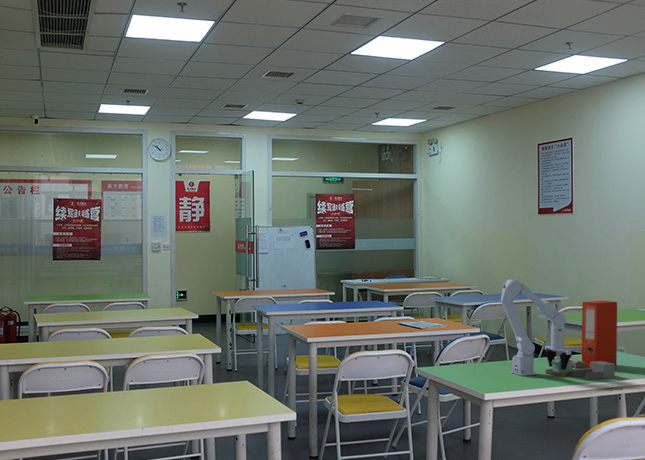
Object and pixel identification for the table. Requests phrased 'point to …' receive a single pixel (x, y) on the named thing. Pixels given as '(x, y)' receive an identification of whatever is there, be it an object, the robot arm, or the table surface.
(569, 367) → the tall teal block
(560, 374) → the tray
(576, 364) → the packaged product
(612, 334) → the file binder
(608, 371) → the bay
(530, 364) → the robot arm
